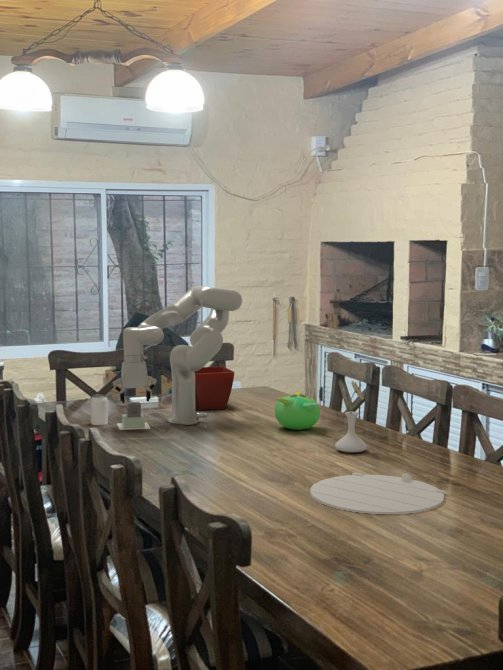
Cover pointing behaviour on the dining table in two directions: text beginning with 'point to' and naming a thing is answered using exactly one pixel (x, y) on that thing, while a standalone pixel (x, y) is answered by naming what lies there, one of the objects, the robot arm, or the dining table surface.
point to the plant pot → (213, 387)
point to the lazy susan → (377, 494)
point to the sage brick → (133, 421)
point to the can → (99, 410)
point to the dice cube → (133, 409)
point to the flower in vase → (352, 429)
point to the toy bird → (297, 411)
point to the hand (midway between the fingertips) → (135, 401)
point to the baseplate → (132, 428)
